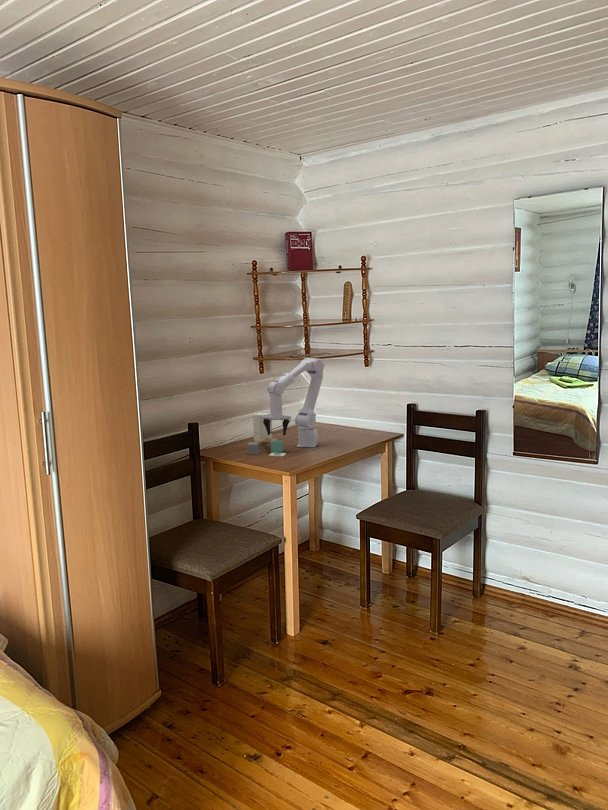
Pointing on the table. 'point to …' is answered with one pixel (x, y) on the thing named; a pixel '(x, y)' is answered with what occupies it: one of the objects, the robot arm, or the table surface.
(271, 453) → the card
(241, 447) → the table surface
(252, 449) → the charcoal cube
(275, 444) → the teal cube
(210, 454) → the table surface
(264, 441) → the walnut block
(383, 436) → the table surface
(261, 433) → the skincare box
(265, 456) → the table surface
